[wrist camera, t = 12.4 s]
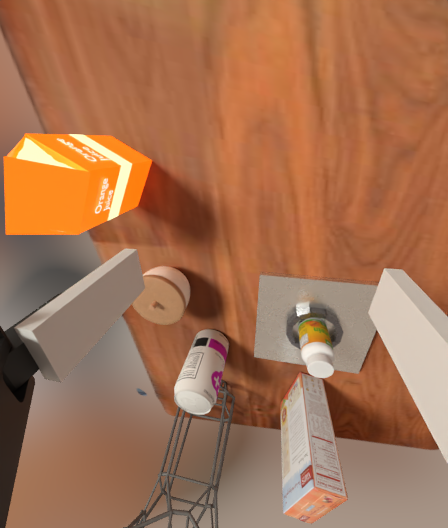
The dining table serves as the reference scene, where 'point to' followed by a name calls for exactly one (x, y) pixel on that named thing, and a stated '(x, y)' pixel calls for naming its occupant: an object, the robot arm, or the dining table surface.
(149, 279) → the lidded jar
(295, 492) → the cracker box
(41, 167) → the orange juice
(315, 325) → the supplement bottle
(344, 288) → the plate
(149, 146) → the dining table surface
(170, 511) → the geometric lantern
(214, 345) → the supplement can
